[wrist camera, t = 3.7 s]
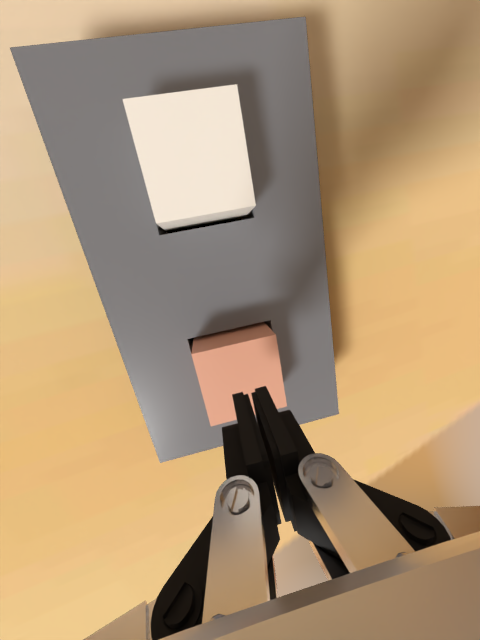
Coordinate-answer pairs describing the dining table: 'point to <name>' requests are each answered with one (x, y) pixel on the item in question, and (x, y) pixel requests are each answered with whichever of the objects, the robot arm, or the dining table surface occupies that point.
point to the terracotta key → (237, 368)
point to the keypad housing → (201, 243)
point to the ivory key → (192, 155)
